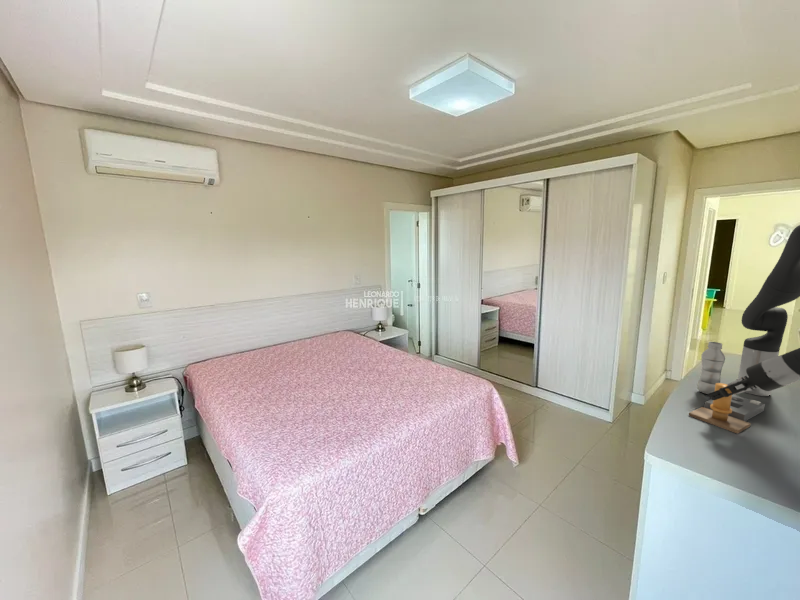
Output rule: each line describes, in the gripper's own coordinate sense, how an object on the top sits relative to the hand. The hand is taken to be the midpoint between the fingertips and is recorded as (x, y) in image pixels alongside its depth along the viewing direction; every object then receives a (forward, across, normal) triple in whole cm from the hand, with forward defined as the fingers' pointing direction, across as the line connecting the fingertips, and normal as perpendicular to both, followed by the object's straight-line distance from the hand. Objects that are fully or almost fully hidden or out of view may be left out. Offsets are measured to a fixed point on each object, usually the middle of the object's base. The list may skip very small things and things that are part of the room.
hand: (717, 394), depth 106 cm
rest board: (+5, 0, +7) cm, 9 cm away
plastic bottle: (+13, -22, -1) cm, 26 cm away
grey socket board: (+6, -14, +6) cm, 16 cm away
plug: (+4, 0, +6) cm, 8 cm away
